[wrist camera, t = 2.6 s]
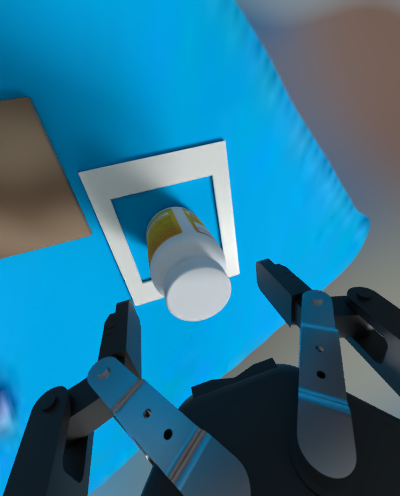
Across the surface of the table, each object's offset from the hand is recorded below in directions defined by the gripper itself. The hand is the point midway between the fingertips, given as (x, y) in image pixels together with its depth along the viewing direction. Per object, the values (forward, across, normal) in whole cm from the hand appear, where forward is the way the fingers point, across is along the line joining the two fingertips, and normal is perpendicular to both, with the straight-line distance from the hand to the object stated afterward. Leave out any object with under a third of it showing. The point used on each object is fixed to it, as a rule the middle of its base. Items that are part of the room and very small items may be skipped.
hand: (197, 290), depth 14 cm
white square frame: (+9, 0, 0) cm, 9 cm away
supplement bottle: (+9, 0, 0) cm, 9 cm away
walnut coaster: (+9, +12, -7) cm, 17 cm away
